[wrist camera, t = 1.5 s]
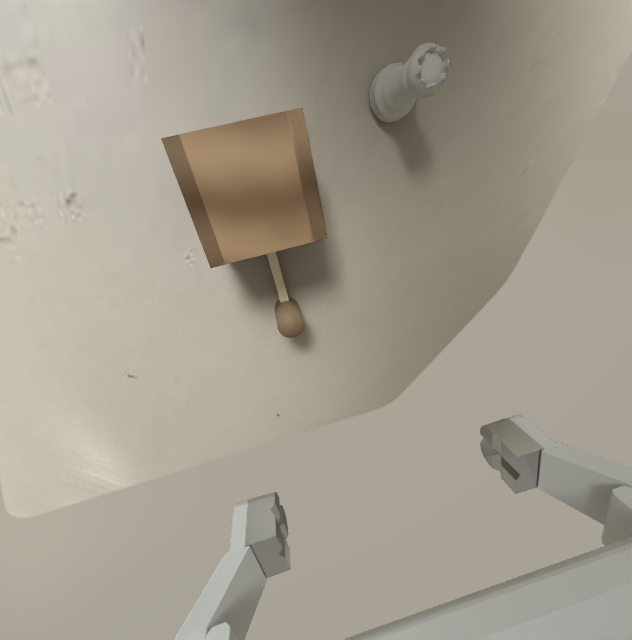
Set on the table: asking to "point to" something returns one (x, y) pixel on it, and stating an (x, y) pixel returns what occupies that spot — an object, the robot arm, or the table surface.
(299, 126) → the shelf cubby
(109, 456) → the table surface
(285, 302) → the block with stick handle
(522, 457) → the robot arm
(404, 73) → the rook chess piece
